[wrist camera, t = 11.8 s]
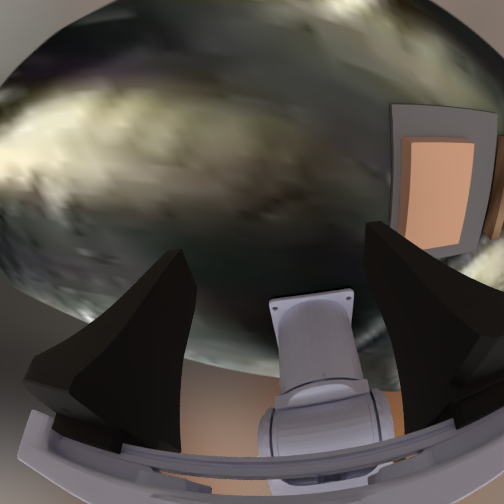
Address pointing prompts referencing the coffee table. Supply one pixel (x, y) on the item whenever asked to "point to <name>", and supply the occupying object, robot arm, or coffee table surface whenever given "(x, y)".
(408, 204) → the tile
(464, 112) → the mat
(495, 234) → the rack
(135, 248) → the coffee table surface
